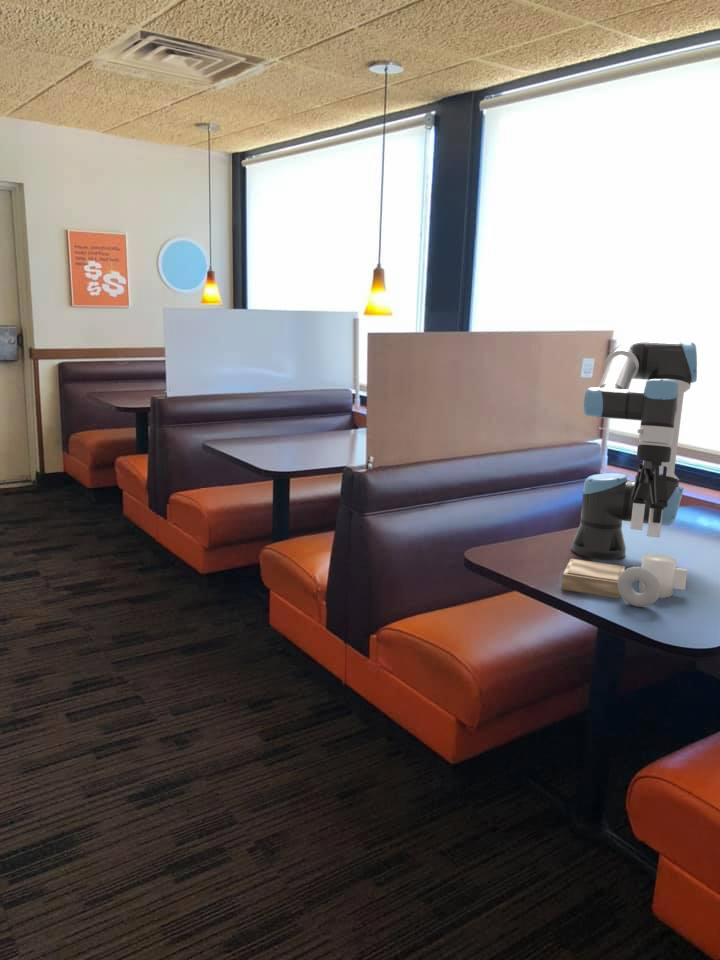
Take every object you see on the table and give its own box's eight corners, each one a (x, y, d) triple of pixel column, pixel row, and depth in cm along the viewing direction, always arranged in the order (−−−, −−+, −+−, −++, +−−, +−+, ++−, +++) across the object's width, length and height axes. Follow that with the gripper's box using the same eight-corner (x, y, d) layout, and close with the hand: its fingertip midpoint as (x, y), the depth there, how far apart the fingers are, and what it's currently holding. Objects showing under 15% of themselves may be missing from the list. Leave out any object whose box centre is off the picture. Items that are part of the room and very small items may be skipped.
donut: (613, 603, 185) (617, 564, 183) (617, 599, 188) (621, 560, 185) (656, 613, 179) (661, 573, 177) (659, 609, 182) (664, 569, 180)
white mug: (639, 584, 199) (643, 551, 197) (684, 591, 194) (688, 557, 193) (637, 594, 191) (641, 560, 189) (684, 602, 187) (688, 567, 185)
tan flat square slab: (569, 572, 206) (570, 557, 205) (623, 580, 201) (625, 565, 200) (561, 589, 194) (562, 573, 193) (619, 598, 188) (620, 581, 187)
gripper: (624, 442, 194) (614, 525, 195) (655, 443, 169) (644, 538, 171) (654, 445, 194) (644, 528, 195) (689, 447, 169) (678, 541, 170)
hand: (644, 533), depth 183 cm, fingers open, 13 cm apart
